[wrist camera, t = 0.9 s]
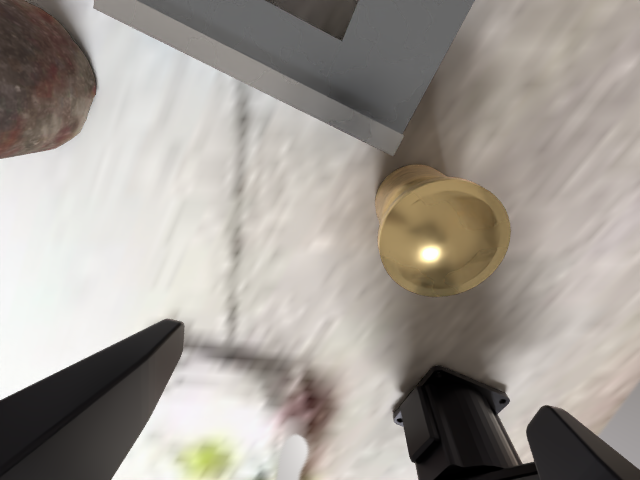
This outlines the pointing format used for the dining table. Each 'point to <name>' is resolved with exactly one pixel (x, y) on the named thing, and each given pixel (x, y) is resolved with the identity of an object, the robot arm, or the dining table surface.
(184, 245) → the dining table surface
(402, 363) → the dining table surface
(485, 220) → the gold flared round piece
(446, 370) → the robot arm
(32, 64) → the candle
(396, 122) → the jig
